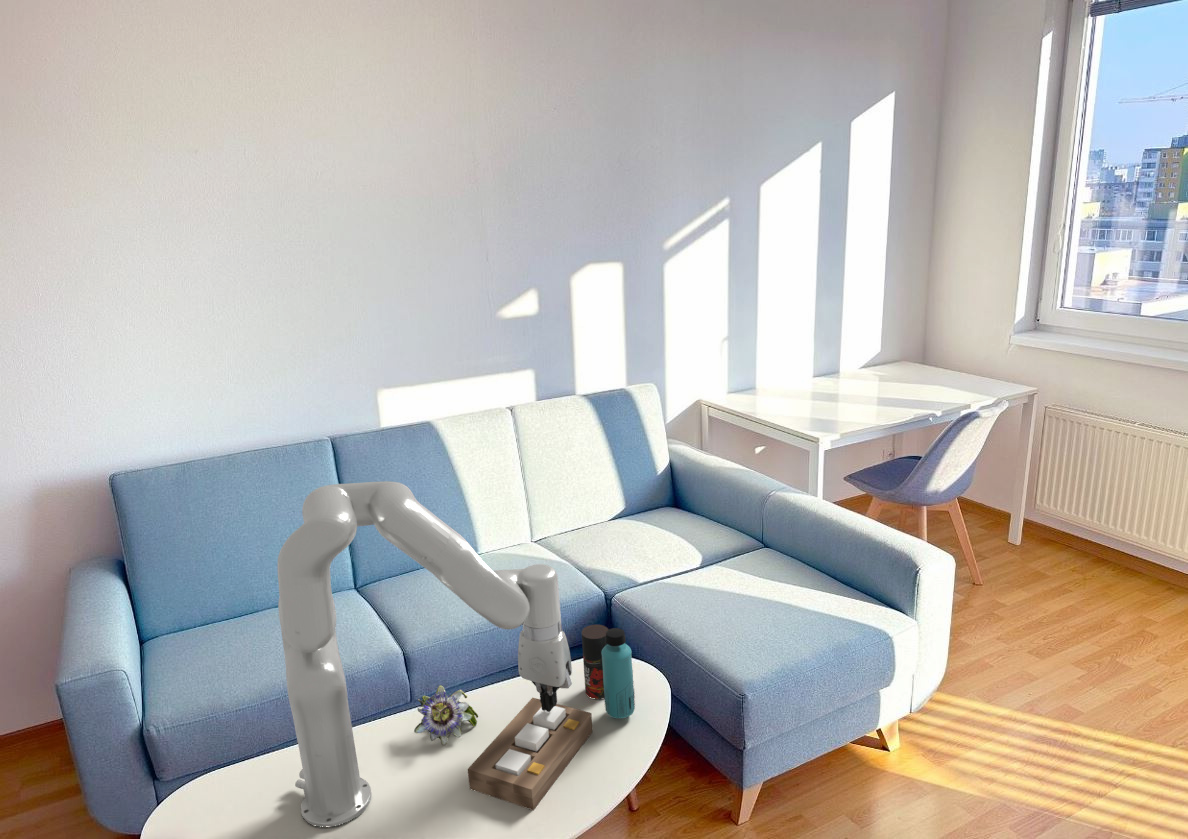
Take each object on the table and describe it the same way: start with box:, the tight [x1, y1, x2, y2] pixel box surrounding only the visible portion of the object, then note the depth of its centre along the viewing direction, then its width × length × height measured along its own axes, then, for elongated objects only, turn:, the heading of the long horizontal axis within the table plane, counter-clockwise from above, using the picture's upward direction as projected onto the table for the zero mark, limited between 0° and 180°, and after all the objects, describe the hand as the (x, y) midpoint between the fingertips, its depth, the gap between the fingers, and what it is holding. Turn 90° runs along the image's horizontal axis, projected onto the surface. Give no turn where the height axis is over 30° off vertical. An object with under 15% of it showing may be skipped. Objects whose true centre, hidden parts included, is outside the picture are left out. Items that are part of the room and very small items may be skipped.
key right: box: [533, 706, 566, 730], centre depth 169 cm, size 5×5×2 cm
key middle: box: [515, 723, 549, 752], centre depth 163 cm, size 5×5×2 cm
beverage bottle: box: [601, 627, 636, 719], centre depth 174 cm, size 6×7×20 cm
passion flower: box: [413, 684, 479, 746], centre depth 174 cm, size 11×11×12 cm
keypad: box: [467, 697, 594, 811], centre depth 164 cm, size 14×24×5 cm, turn 153°
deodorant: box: [581, 624, 609, 700], centre depth 183 cm, size 6×6×15 cm
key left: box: [496, 749, 531, 777], centre depth 158 cm, size 5×5×2 cm
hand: (549, 707), depth 169 cm, fingers closed
